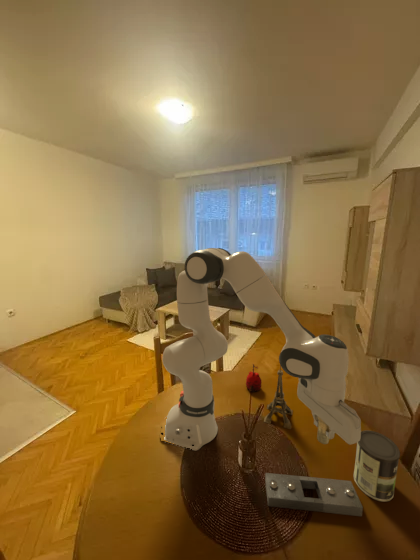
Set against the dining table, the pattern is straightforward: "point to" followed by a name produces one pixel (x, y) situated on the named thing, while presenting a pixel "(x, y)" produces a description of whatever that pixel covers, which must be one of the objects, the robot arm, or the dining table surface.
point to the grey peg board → (330, 492)
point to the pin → (322, 432)
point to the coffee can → (376, 465)
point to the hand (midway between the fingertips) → (323, 430)
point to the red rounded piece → (253, 381)
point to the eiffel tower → (279, 404)
